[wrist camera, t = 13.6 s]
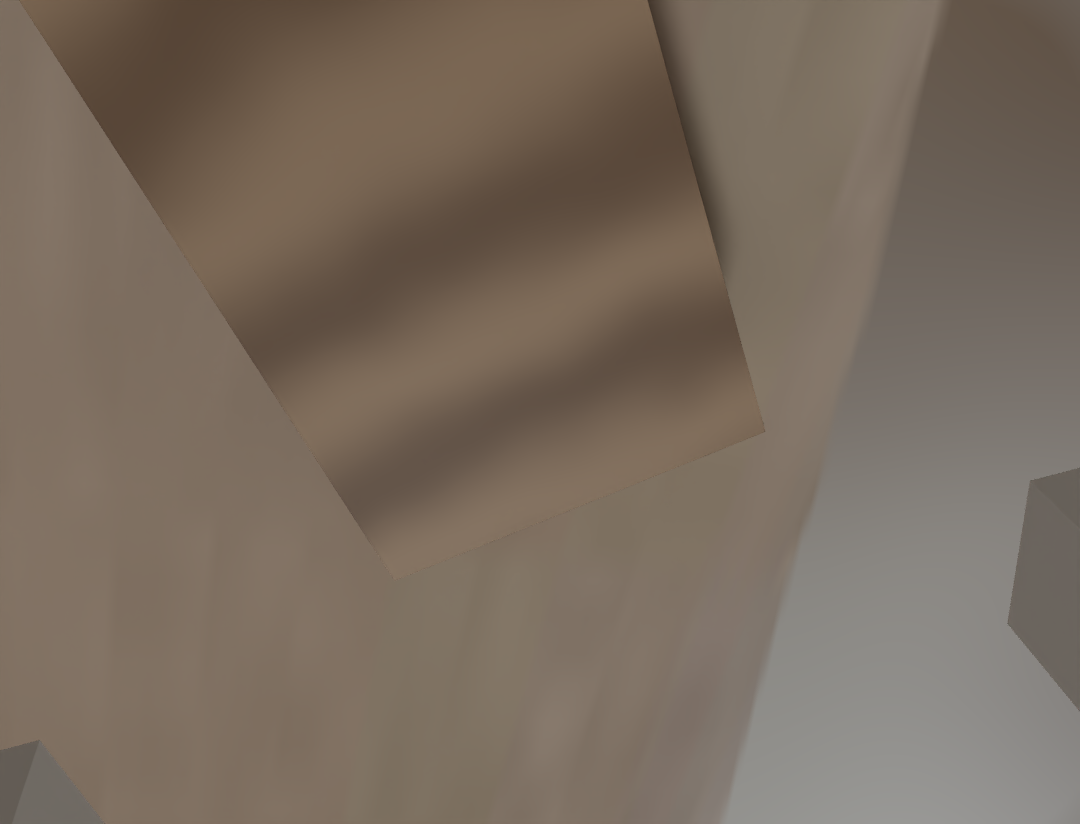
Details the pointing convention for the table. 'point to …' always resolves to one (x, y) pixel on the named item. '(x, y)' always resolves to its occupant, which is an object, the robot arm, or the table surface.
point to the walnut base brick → (435, 240)
